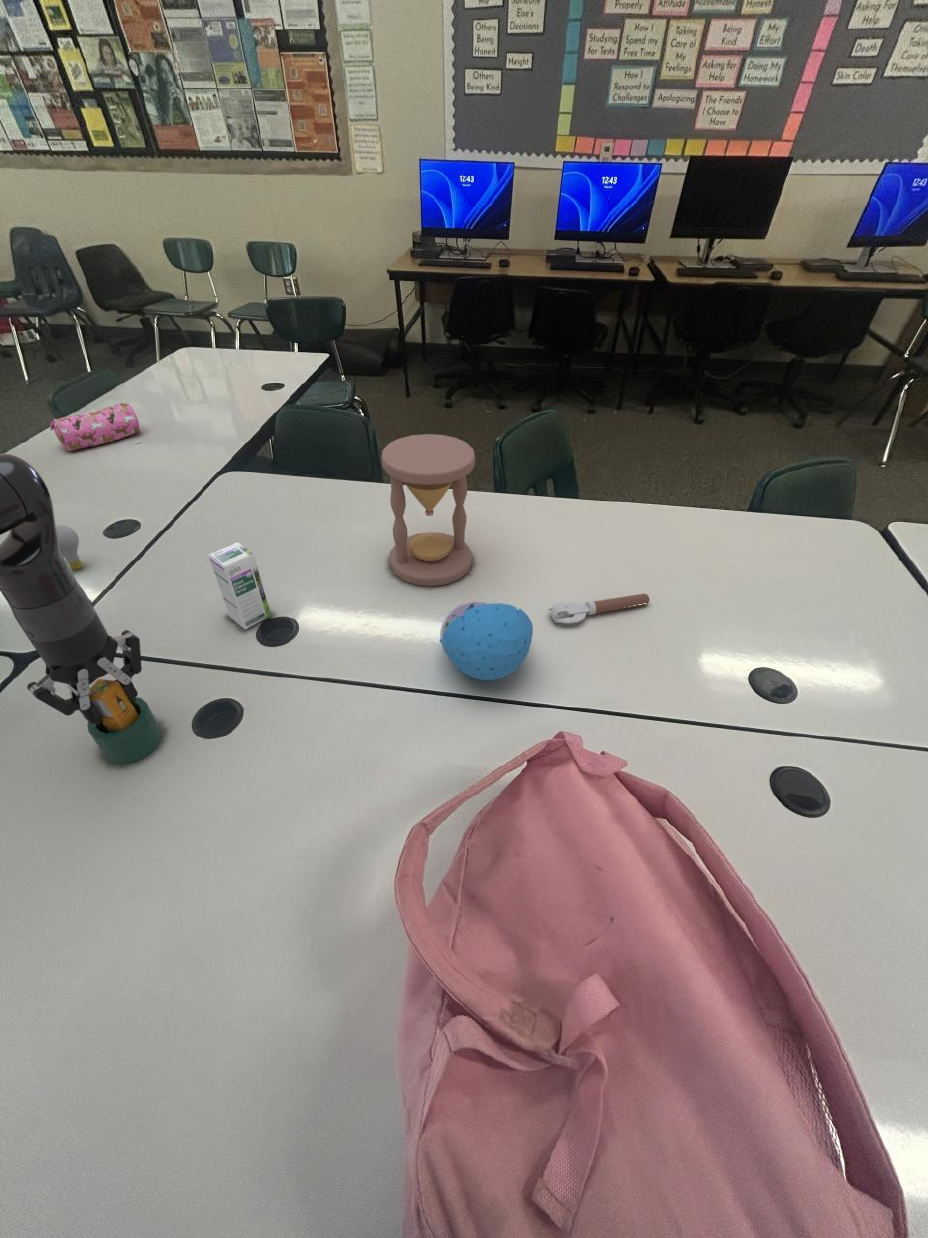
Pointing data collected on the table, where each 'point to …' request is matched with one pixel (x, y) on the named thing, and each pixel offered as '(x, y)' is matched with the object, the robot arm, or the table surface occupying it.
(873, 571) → the table surface
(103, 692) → the supplement box
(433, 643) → the table surface
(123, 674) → the robot arm
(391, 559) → the hourglass
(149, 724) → the green pipe cap
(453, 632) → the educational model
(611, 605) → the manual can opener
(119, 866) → the table surface
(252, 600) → the syrup box
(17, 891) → the table surface
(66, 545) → the light bulb
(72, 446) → the pencil case
